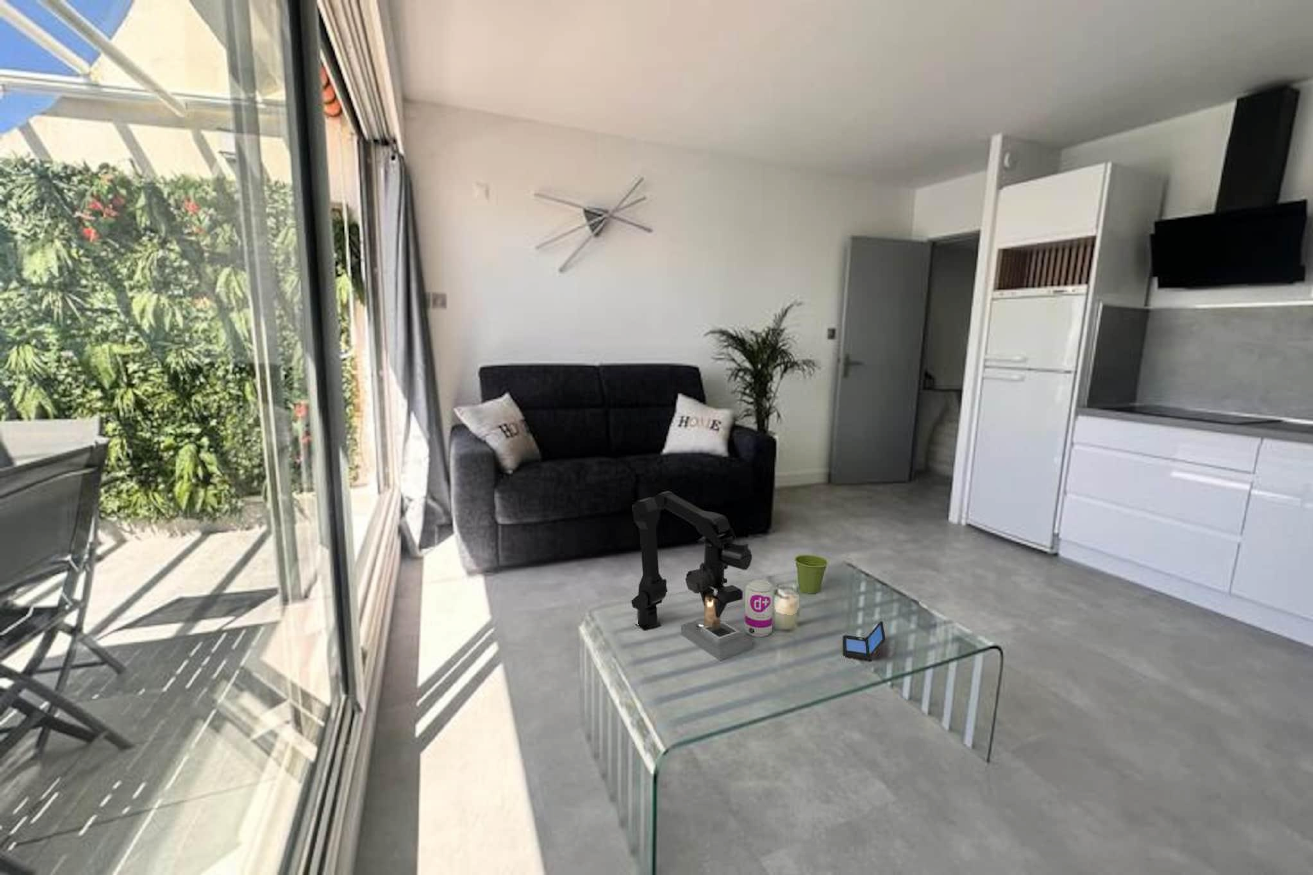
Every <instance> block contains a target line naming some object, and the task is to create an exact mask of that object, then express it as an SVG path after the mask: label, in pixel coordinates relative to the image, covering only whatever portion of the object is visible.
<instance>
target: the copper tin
mask: <svg viewBox="0 0 1313 875" xmlns="http://www.w3.org/2000/svg"><path fill="white" fill-rule="evenodd" d="M715 595H717V593H715V592H714V593H710V594H706V595H705V607H704V615H703V618H704V624H705V625H706V626H708V627H718V626H720V620H721V618H722V617H721V616H722V615H721V616H720V617H719V618H717V617H716V611H715V600H714V599H713V598H712V596H715Z"/></svg>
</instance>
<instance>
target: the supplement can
mask: <svg viewBox="0 0 1313 875" xmlns="http://www.w3.org/2000/svg"><path fill="white" fill-rule="evenodd" d="M774 594H775V593H774V589H773V586H772V583H770V582H769V581H766V580H763V579H753V580H750V581H748V583H747V585H746V587H745V596H744V597H745V603H744V623H743V625H744V631H745V632H746V633H747V634H748V635H750V636H753V637H756V638H763V637H768V636H769V635H770V634H772V632H773V618H774V617H773V616H774V615H773V614H774V612H773V611H774V608H773V607H774Z"/></svg>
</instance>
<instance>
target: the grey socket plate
mask: <svg viewBox="0 0 1313 875" xmlns="http://www.w3.org/2000/svg"><path fill="white" fill-rule="evenodd" d="M680 635H681V636H683V637H684V638H686V639H687V640H688V641H690V642H692V643H693V644H694V645H696V646H697V647H698V648H701V649H702V650H703V651H705V652H706V653H708V654H709V655H710V656H712V657H714V658H715V659H717V660H718V661H723V660H726V659H729V658H731V657H734V656H737V655H739V654H742V653H745V652H748V651H750V650H753V643H754V641H753V638H752V637H750V636H748V635H746V634H744V633H743V632H742V631H739V630H738V629H736V628H734V627H732V626H731V625H729V624H728V623H726V622H724V621H722V620H721V619H720V626H718V627H708V626H706V625H705V624H704V617H702V618H698V619H697V620H694V621H693V620H692V621H690V622H687V623H683V624H681V625H680Z"/></svg>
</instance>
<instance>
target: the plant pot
mask: <svg viewBox="0 0 1313 875" xmlns="http://www.w3.org/2000/svg"><path fill="white" fill-rule="evenodd" d="M793 560H794V562H795V567H796V569H797V570H796V572H797V580H798V583H797V584H798V588H799V590H800V592H802V593H803V594H804V593H805V594H809V595H812V594H819V593H820V591H821V587H822V584H823V579H824V575H825V572H826V569H827V566H828V565H829V561H828V560H827V559H826V558H825V557H821V556H818V555H811V554H802V555H801V554H800V555H797V556H795V557H794V559H793Z"/></svg>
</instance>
